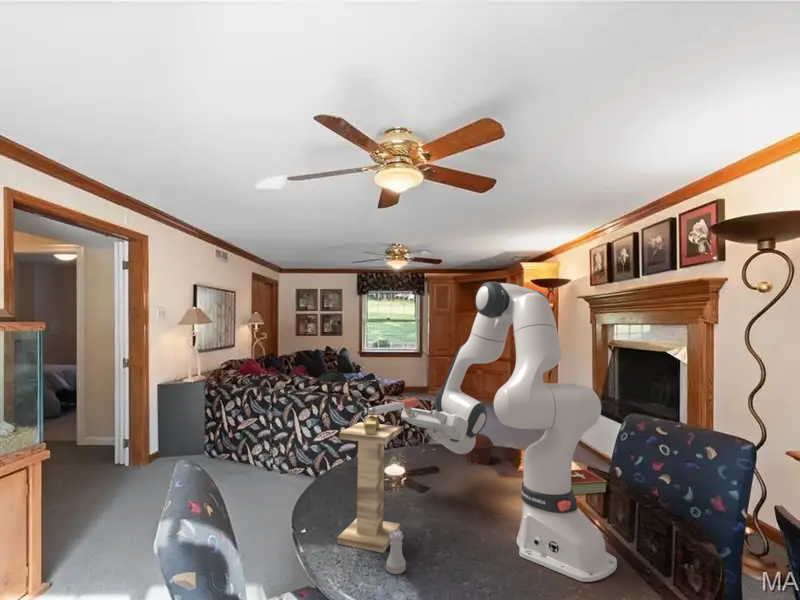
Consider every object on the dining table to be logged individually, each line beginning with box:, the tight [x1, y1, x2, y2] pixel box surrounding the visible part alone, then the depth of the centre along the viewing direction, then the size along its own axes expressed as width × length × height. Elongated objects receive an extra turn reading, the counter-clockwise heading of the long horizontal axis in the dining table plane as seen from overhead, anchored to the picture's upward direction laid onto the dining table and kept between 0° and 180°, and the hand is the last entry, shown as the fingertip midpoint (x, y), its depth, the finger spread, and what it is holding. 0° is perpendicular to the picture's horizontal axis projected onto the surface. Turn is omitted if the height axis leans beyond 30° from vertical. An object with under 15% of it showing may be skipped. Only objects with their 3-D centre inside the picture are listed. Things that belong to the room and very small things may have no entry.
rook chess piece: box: [385, 529, 407, 575], centre depth 96 cm, size 4×4×8 cm
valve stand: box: [336, 414, 403, 554], centre depth 111 cm, size 12×12×30 cm
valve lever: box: [367, 397, 420, 416], centre depth 118 cm, size 19×3×2 cm, turn 141°
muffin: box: [465, 433, 494, 465], centre depth 171 cm, size 12×11×10 cm
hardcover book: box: [571, 468, 608, 495], centre depth 145 cm, size 12×21×4 cm, turn 101°
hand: (418, 410), depth 127 cm, fingers open, 8 cm apart
